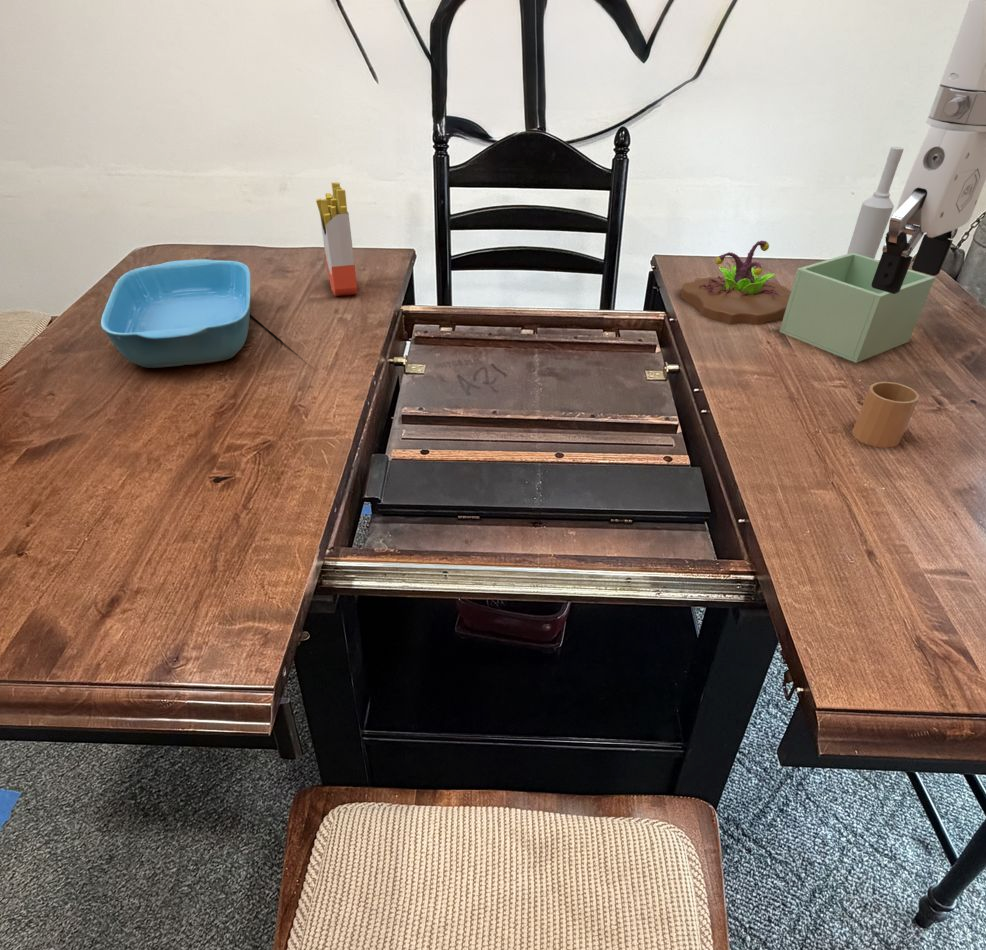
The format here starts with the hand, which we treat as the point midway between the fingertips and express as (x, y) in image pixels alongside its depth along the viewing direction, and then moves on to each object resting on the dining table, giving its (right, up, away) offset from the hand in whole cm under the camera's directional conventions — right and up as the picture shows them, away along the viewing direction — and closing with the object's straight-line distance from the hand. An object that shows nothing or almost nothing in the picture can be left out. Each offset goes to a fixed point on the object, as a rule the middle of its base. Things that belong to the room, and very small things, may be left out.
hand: (904, 281), depth 85 cm
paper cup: (+3, -16, +12) cm, 21 cm away
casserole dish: (-101, +7, +36) cm, 107 cm away
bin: (+11, +7, +37) cm, 39 cm away
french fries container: (-78, +21, +52) cm, 96 cm away
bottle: (+18, +19, +51) cm, 58 cm away
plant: (-3, +17, +48) cm, 51 cm away
